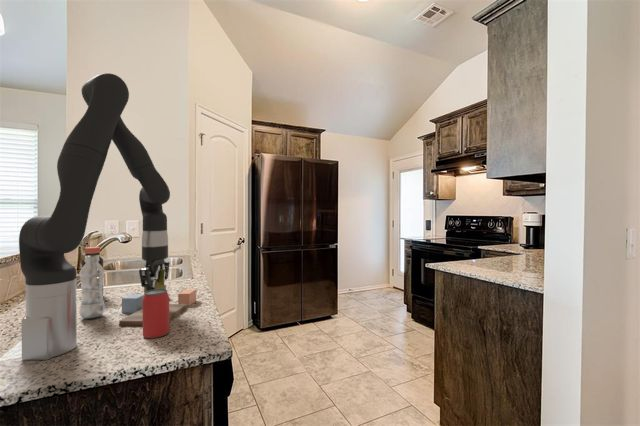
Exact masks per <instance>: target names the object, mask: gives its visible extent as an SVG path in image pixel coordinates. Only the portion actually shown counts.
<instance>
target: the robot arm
mask: <svg viewBox="0 0 640 426" xmlns="http://www.w3.org/2000/svg"><path fill="white" fill-rule="evenodd" d="M127 85H128V84H126V82H125V81H124V79H122V78H121V77H120V76H119V75H117V74H113V73H109V72H107V73H105V72H104V73H101V74H97V75H95V76H94V77H92V78H90V79H88V80H87V81H86V82H84V83H83V85H82V86H81V96H82V99H83V101H84V102H85V103H86V105H87V109H86V110H85V113H84V114H83V116H82V117H81V118H80V120H79V121H78V122H77V124H75V126H74V127H73V129H72V130H71V132H70V133H69V134H68V136H67V138H66V140H65V141H64V143H63V145H62V149H61V150H60V152H59V153H60V154H59V155H58V159H57V163H56V168H57V169H56V170H57V176H58V181H59V188H60V192H59V197H58V200H57V203H56V205H55V207H54V209H53V212H52V214H51V215H37V216H34V217H32V218H31V217H30V218H29V219H28V220H26V221H25V222H24V223H23V225H22V227H21V228H20V231H19V237H18V251H19V263H20V270H21V272H22V274H23V276H24V279H25V317H23V318H22V319H21V360H23V361H24V360H27V361H28V360H31V361H32V360H36V361H37V360H39V361H40V360H45V361H46V360H50V359H52V358H55V357H58V356H61V355H63V354H66V353H68V352H71V351H72V350H74V349H75V348H76V347H77V344H78V343H77V342H78V340H77V337H78V336H77V334H78V333H77V329H78V328H77V327H78V326H77V321H78V320H77V269H76V267H75V266H74V265H72V264H71V263H69V262H68V260H67V259H66V256H65V254H69V253H71V252H73V251H75V250H76V249H77V248H78V247H79V246H80V245H81V243H82V241H83V239H84V237H85V233H86V229H87V223H88V219H89V214H90V210H91V204H92V200H93V198H94V194H95V191H96V188H97V185H98V183H99V178H100V176H101V173H102V171H103V168H104V165H105V162H106V159H107V156H108V152H109V149H110V146H111V143H112V142H113V144H114V145H115V146H116V148H117V150H118V152H119V153H120V156H121V157H122V160H123V161H124V163H125V166H126V167H127V170H128V171H129V173H130V175H131V176H132V178H134V179H136V180H137V181H138V182H139V183H140V185H141V189H140V190H139V194H138V197H139V198H138V199H139V200H138V201H139V207H140V211H141V215H142V234H141V259H142V261H145V265H144V268H140V269H139V270H138V274H139V278H140V280H139V281H140V284H141V287H142V288H144V287H146V288H147V291H149V290H154V289H155V287H154V286H155V281H156V280H157V278H158V274H160V269H164V270H165V271H164V283H165V282H166V281H167V280H168V279H169V271H170V262H169V261H166V259H168V257H169V234H168V217H167V214H166V213H164V211H163V209H164V208H163V205H164V204H166V203H167V202H168V201H169V200H170V198H171V197H170V196H171V191H170V189H169V186H168V184H167V182H166V181H165V180H164V178H163V177H162V175H161V174H160V173H159V171H158V170H157V168H155V165H154V163H153V160H152V158H151V156H150V154H149V152H148V151H147V148H146V147H145V146H144V144H143V143H142V142H141V140H140V139H138V138H137V137H136V136H135V135H134V134H133V132H131V130H130V129H129V128H128V126H127V125H126V124H125V122H124V121H123V118H122V117H121V116H122V114H123V111H124V110H125V108H126V106H127V104H128V102H129V99H130V98H129V97H130V91H129V87H128V86H127ZM150 276H154V277H150ZM145 280H146V283H145ZM151 280H152V283H151Z"/></svg>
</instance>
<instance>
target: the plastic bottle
mask: <svg viewBox="0 0 640 426" xmlns="http://www.w3.org/2000/svg"><path fill="white" fill-rule="evenodd" d="M99 256H100V254H99V255H88V256H86V255H84V258H85V262H86V264H85V265H84V266H83V267H82V266H81V269H80V271H79V280H80V284H81V285H80V287H81V300H80V302H81V303H80V307H79V315H80V317H81V318H82V319H85V320H87V319H96V318H99V317H101V316H103V315H104V313H105V310H106V305H105V301H104V291H103V292H102V289H103V290H104V278H105V277H104V276H105V270H104V266H103V267H102V266H101V265H100V264H99V263H98V261H99ZM102 287H103V288H102Z"/></svg>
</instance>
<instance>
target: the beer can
mask: <svg viewBox="0 0 640 426" xmlns="http://www.w3.org/2000/svg"><path fill="white" fill-rule="evenodd" d="M169 304H170V297H169V293H168V290H167V288H166V289H154V290H149V291H146V292H145V295H144V297H143V326H142V336H143V338H146V339H158V338H160V337H163V336H166V335H167V334H168V333H169V332H170V321H169Z"/></svg>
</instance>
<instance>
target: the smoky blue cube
mask: <svg viewBox="0 0 640 426" xmlns="http://www.w3.org/2000/svg"><path fill="white" fill-rule="evenodd" d="M143 297H144V293H142V294H141V293H138V294H137V293H134V294H133V293H131V294H129V295H127V296H124V297H122V298H121V313H122V314H133V313H135V312H137V311H138V310H140V309H142V308H143Z"/></svg>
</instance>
